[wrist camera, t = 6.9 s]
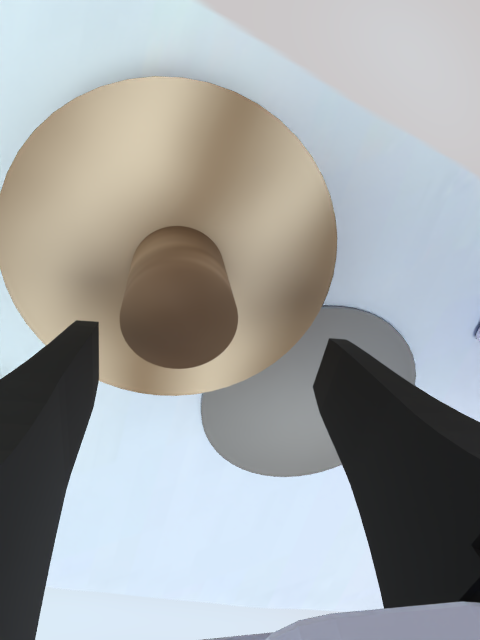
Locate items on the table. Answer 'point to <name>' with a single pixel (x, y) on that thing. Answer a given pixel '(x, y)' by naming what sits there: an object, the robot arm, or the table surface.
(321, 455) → the mat
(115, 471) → the table surface
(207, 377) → the lid
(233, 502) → the table surface
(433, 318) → the table surface
